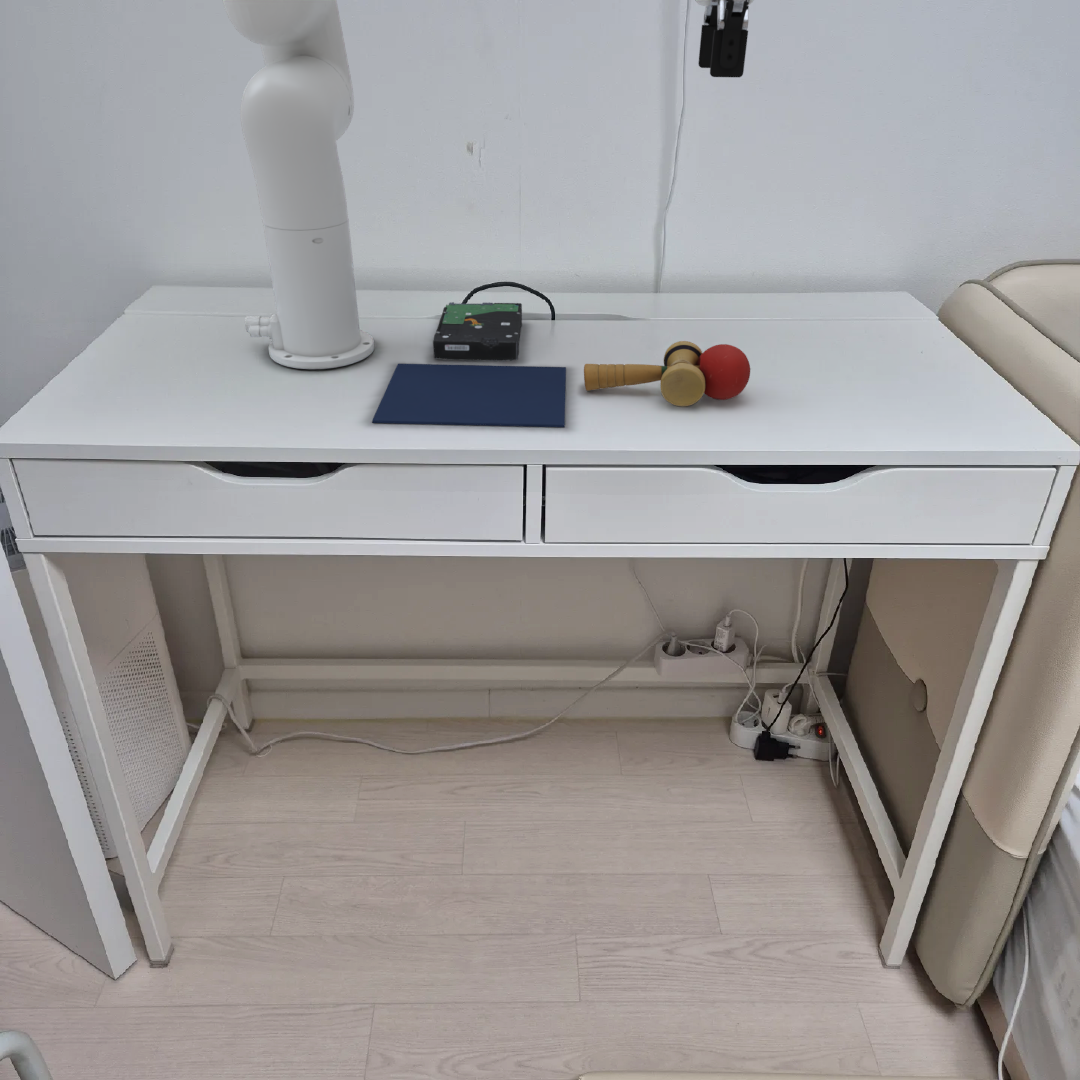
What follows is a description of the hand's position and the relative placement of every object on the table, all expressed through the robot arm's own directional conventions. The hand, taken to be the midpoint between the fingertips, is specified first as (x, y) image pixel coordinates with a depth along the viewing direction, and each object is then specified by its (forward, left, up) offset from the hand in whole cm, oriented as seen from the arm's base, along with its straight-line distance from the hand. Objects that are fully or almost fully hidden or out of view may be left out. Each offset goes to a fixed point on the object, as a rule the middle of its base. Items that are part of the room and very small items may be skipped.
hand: (719, 72), depth 92 cm
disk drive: (-26, +5, -31) cm, 41 cm away
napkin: (-25, -12, -31) cm, 42 cm away
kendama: (-4, -11, -31) cm, 34 cm away
